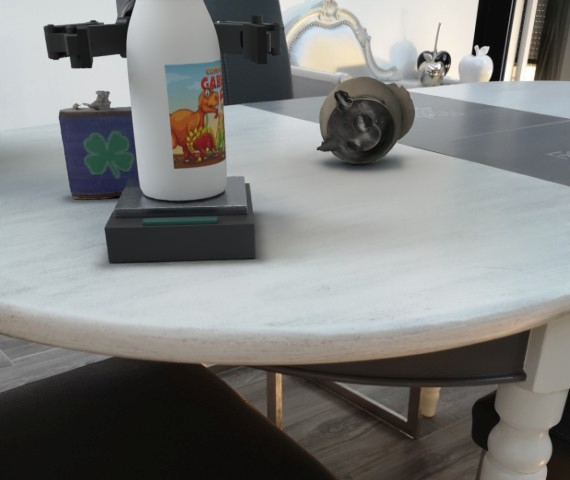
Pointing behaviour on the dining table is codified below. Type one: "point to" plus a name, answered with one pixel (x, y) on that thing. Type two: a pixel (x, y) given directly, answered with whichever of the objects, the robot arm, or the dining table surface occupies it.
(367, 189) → the dining table surface
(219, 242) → the scale
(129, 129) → the flask
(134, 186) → the scale platform
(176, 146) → the milk bottle
